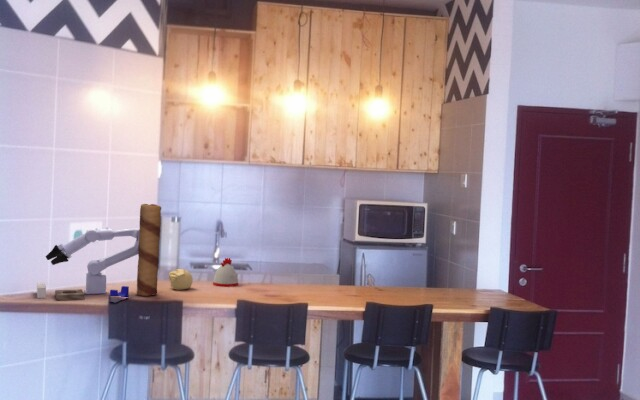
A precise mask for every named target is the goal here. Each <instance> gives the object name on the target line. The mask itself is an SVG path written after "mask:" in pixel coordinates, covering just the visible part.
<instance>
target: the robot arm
mask: <svg viewBox="0 0 640 400" xmlns="http://www.w3.org/2000/svg"><path fill="white" fill-rule="evenodd" d="M139 229H140V228H139V227H137V228H136V227H135V228H126V229H119V230H118V229H117V230H113V229H112V228H109V227H107V226H106V227H105V228H102V229H101V228H100V229H98V228H95V229H89V230H86V231H85V233H83V234H81V235H79V236H77V237H76V238H74V239H72V240H71V241H69V242H67V243H66V244H63V243H60V244H59V245H57V244H55V245H54V247H53V248H52V250H50V252H48V254H47V255H46V256H45V258H46V260H47V261H50V260H51V261H50V264H51V265H52V266H54V265H57V264H61V263H66V262H69V260H70V258H72V255H74V254H75V253H76V252H78V251H79V250H81V249H83V248H85V247H87V246H88V245H89V244H91V243H95V242H97V241H98V242H101V241H113V239H114V238H117V237H132V238H135V242H134V245H132V246H130V247H128V248H125V249H122V250H120V251H117V252H115V253H113V254H111V255H109V256H107V257H104V258H100V259H94V260H93V259H91V260H90V261H89V262H88V263H87V265H86V267H87V273H86V276H85V277H86V278H85V290H84V291H83V292H84V294H85V295H93V294H94V295H95V294H98V295H99V294H106V293H107V275H106V274H102V271H104V270H106V269H108V268H109V267H111V266H113V265H116V264H118V263H122V262H124V261H125V260H127V259H130V258H133V257H134V256H137V255H138V253H139V251H138V245H139Z"/></svg>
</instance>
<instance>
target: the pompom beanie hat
mask: <svg viewBox="0 0 640 400" xmlns="http://www.w3.org/2000/svg"><path fill="white" fill-rule="evenodd" d="M232 262H233V259H231V257H225V258H224V260H222V262H220V266H219V267H218V268H217V269H216V271H215V272H214V277H213V281H212V285H213V286H215V287H223V288H225V287H226V288H230V287H237V286H239V279H238V273H237V272H236V270H235V268H234V267H233V266H232V265H231V264H232Z"/></svg>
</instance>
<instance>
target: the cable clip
mask: <svg viewBox="0 0 640 400" xmlns="http://www.w3.org/2000/svg"><path fill="white" fill-rule="evenodd" d="M129 287H130V286H126V285H123V286H121V289H120V291H118V289H110V290H109V297H110V296H121V297H128V298H129V293H130V292H129V290H130V288H129Z"/></svg>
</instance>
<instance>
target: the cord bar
mask: <svg viewBox="0 0 640 400" xmlns="http://www.w3.org/2000/svg"><path fill="white" fill-rule="evenodd" d="M46 291H47V287H46V282H37V284H36V298H37V299H43V298H44V299H46V297H47V296H46V295H47V293H46Z"/></svg>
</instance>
